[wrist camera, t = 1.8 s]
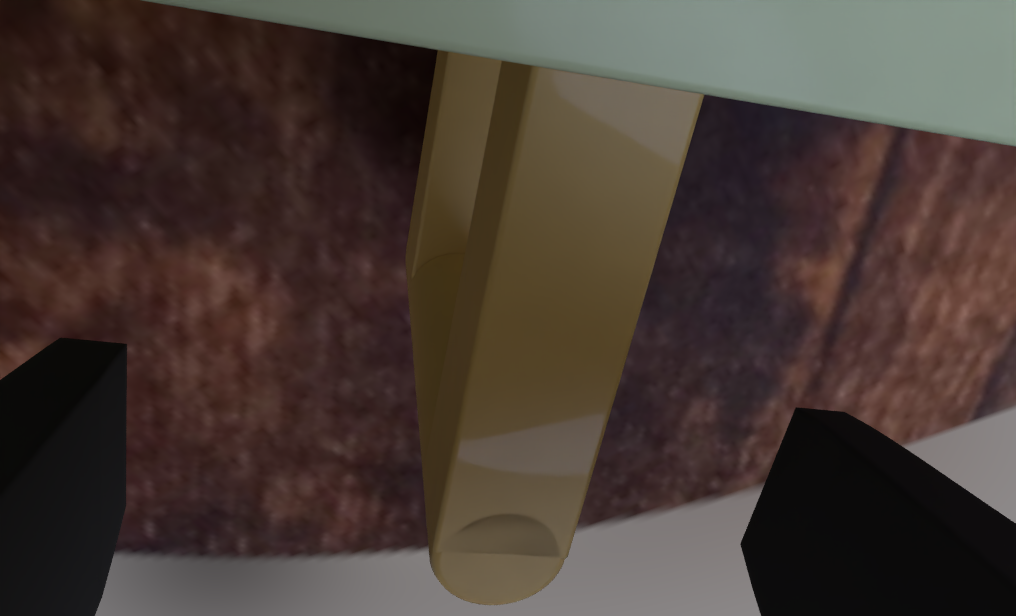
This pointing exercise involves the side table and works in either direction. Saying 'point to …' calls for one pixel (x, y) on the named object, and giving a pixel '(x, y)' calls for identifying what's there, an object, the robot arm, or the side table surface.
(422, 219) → the door
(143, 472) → the side table surface
